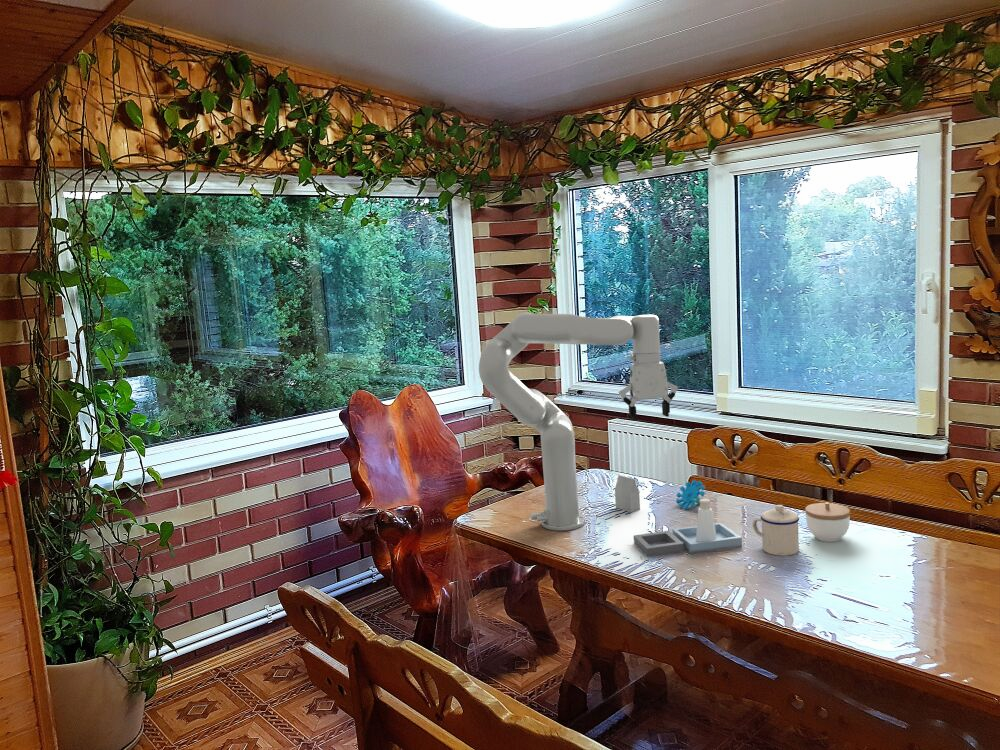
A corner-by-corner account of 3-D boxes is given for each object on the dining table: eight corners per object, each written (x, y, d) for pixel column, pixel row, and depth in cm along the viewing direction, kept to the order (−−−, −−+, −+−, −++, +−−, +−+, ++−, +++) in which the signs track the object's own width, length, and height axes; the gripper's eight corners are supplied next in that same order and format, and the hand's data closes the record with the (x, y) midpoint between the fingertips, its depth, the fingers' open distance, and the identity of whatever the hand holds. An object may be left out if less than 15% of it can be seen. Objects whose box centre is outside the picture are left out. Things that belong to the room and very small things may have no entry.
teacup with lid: (806, 548, 192) (805, 504, 190) (788, 559, 186) (787, 514, 184) (762, 538, 201) (761, 495, 199) (744, 548, 195) (743, 504, 193)
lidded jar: (852, 546, 191) (852, 510, 190) (806, 544, 195) (806, 509, 193) (848, 531, 201) (847, 497, 200) (804, 529, 205) (804, 496, 203)
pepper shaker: (691, 540, 201) (690, 500, 200) (703, 534, 205) (701, 495, 203) (709, 545, 197) (708, 504, 196) (721, 538, 201) (719, 499, 199)
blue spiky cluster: (669, 498, 234) (690, 473, 234) (680, 508, 236) (701, 484, 236) (688, 513, 224) (710, 487, 224) (700, 524, 226) (722, 498, 226)
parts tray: (691, 553, 194) (690, 544, 194) (672, 537, 206) (672, 529, 205) (742, 546, 196) (741, 537, 196) (721, 531, 208) (720, 522, 208)
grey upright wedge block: (631, 512, 229) (629, 480, 227) (615, 507, 234) (614, 476, 233) (640, 509, 231) (638, 477, 229) (624, 504, 236) (622, 473, 235)
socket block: (647, 556, 194) (646, 548, 194) (634, 543, 204) (633, 535, 204) (684, 551, 196) (683, 543, 195) (669, 538, 206) (668, 530, 205)
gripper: (622, 362, 210) (625, 423, 212) (681, 357, 212) (683, 416, 215) (613, 359, 217) (616, 418, 220) (670, 354, 220) (673, 412, 222)
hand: (649, 417), depth 217 cm, fingers open, 9 cm apart
